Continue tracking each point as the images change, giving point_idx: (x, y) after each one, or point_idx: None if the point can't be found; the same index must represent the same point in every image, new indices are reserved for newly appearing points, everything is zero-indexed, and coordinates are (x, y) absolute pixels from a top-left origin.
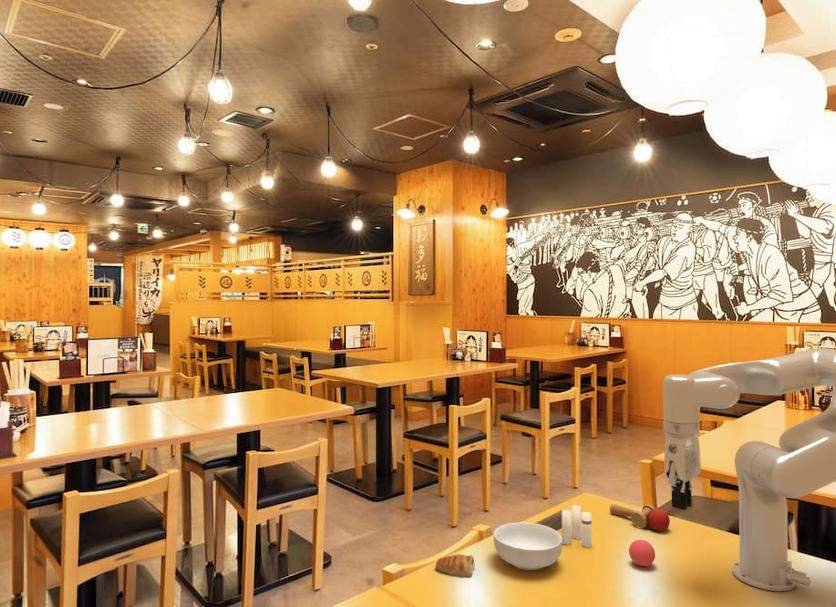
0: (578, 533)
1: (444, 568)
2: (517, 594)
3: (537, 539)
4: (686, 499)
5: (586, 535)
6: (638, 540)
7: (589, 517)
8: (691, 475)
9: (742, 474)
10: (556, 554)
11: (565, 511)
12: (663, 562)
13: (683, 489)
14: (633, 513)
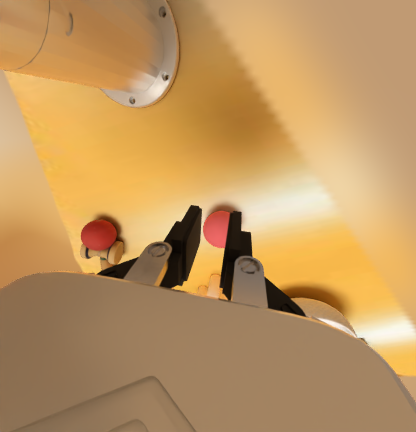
0: (205, 292)
1: None
2: (383, 303)
3: None
4: (234, 230)
5: (219, 289)
6: (220, 244)
7: None
8: (241, 338)
9: None
10: (320, 307)
11: None
12: (196, 200)
13: (257, 273)
14: (115, 263)
